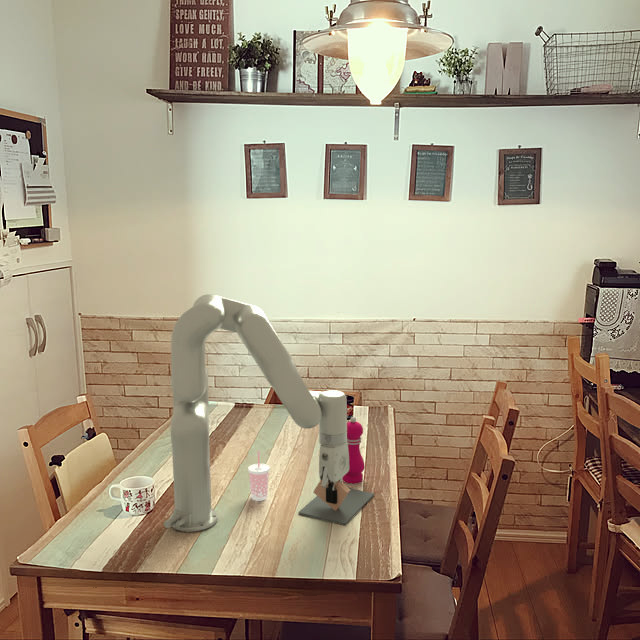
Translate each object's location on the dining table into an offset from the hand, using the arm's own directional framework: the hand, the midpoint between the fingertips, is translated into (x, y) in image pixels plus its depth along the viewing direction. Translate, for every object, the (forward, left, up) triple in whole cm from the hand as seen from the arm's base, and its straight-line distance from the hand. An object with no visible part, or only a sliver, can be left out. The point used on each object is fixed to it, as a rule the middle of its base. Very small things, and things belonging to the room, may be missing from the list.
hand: (333, 500), depth 181 cm
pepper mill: (+21, +4, -3) cm, 21 cm away
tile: (0, +2, 0) cm, 2 cm away
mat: (+4, +1, -3) cm, 5 cm away
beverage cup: (-2, +23, -3) cm, 23 cm away
